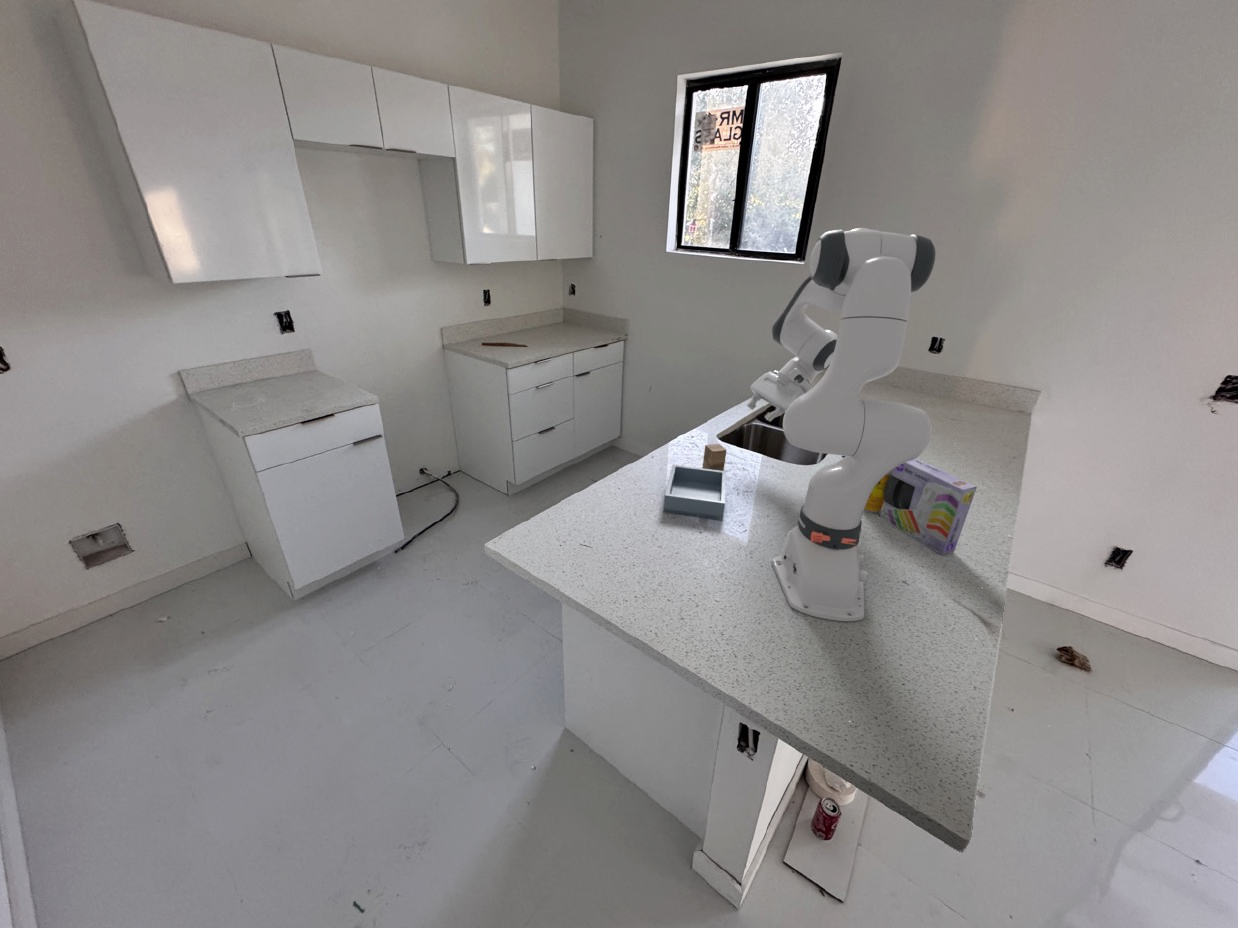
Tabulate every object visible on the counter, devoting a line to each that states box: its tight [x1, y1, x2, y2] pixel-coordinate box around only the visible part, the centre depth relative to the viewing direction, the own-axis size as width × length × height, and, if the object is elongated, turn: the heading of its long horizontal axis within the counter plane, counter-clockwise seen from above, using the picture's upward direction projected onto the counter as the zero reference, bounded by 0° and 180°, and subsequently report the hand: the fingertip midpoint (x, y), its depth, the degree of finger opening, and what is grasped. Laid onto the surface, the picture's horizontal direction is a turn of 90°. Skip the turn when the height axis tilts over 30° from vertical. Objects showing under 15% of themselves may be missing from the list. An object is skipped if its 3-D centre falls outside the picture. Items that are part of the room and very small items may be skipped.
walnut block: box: [702, 443, 727, 471], centre depth 147 cm, size 5×5×8 cm
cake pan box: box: [879, 457, 978, 555], centre depth 119 cm, size 19×5×18 cm, turn 21°
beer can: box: [864, 470, 893, 514], centre depth 130 cm, size 6×6×15 cm
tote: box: [662, 464, 727, 521], centre depth 133 cm, size 18×15×5 cm
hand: (757, 413), depth 145 cm, fingers open, 8 cm apart
